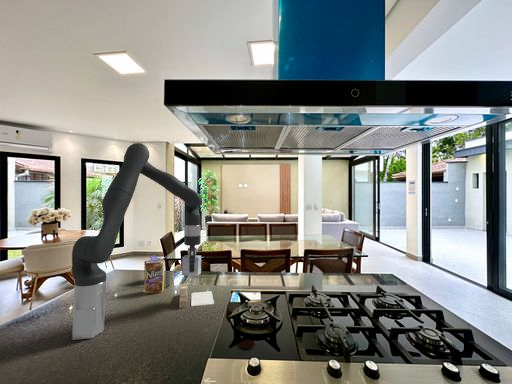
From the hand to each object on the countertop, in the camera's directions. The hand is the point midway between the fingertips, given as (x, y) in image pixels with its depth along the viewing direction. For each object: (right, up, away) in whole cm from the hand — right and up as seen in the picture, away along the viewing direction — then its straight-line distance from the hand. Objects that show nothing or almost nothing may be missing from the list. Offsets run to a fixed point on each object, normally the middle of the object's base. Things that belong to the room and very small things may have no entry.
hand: (191, 270), depth 115 cm
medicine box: (0, -2, 0) cm, 2 cm away
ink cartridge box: (-29, -15, +27) cm, 42 cm away
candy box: (-22, -14, +9) cm, 27 cm away
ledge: (-3, -14, -2) cm, 14 cm away
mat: (+5, -14, 0) cm, 15 cm away
